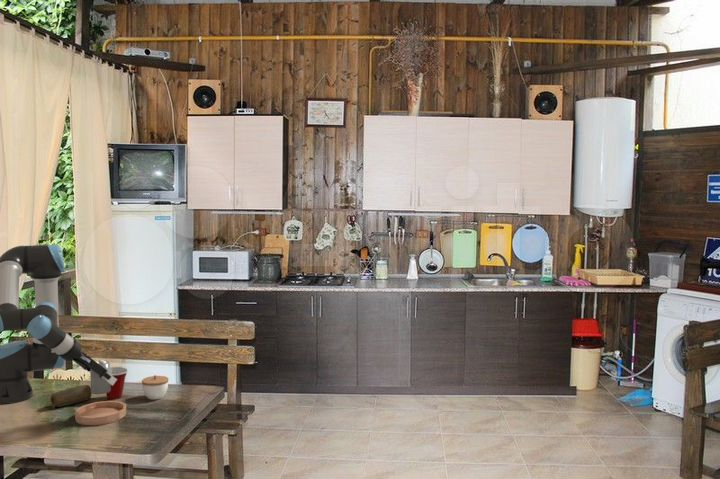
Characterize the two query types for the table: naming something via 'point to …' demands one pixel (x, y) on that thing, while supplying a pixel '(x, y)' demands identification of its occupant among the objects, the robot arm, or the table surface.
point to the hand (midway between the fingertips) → (109, 380)
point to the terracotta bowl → (100, 413)
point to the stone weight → (71, 396)
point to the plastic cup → (117, 382)
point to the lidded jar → (155, 386)
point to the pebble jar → (100, 380)
